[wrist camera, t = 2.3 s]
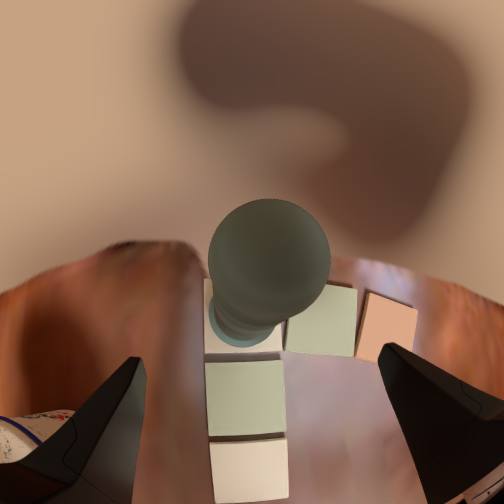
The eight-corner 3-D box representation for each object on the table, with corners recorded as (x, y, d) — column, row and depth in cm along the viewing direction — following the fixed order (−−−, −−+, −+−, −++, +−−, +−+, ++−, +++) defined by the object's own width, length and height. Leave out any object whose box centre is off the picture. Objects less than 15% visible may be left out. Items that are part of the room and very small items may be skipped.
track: (247, 522, 13) (247, 525, 13) (93, 370, 17) (90, 370, 16) (429, 330, 21) (432, 329, 21) (306, 199, 25) (308, 195, 24)
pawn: (240, 361, 18) (281, 359, 6) (195, 310, 19) (160, 222, 7) (288, 316, 20) (386, 244, 8) (244, 270, 21) (280, 145, 9)
